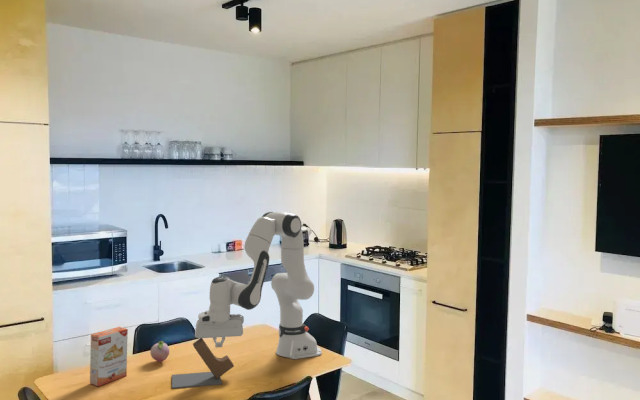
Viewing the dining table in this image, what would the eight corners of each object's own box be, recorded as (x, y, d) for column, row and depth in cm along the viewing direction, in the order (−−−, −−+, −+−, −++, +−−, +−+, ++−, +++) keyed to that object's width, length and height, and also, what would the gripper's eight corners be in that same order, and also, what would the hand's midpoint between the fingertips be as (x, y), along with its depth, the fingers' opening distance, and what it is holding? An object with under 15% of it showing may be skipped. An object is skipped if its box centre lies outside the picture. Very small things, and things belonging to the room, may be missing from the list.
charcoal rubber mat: (218, 372, 224) (219, 371, 224) (221, 384, 212) (221, 383, 212) (172, 376, 219) (172, 374, 219) (171, 388, 206) (172, 387, 206)
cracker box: (98, 387, 205) (98, 336, 204) (89, 383, 209) (89, 334, 207) (127, 376, 217) (128, 328, 216) (118, 372, 220) (119, 325, 219)
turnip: (149, 359, 237) (149, 338, 236) (167, 357, 240) (167, 336, 239) (151, 367, 228) (151, 345, 227) (170, 364, 231) (170, 343, 231)
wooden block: (232, 362, 222) (210, 330, 217) (234, 366, 217) (212, 333, 213) (214, 375, 219) (192, 343, 215) (216, 379, 215) (193, 347, 210)
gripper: (243, 312, 222) (242, 343, 223) (195, 314, 216) (194, 345, 217) (244, 316, 216) (244, 347, 217) (195, 318, 210) (195, 350, 211)
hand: (218, 346), depth 217 cm, fingers closed
